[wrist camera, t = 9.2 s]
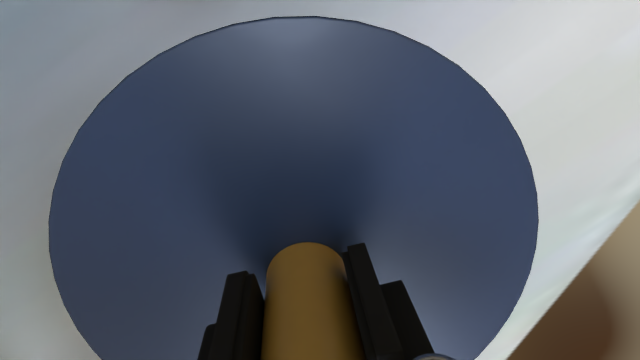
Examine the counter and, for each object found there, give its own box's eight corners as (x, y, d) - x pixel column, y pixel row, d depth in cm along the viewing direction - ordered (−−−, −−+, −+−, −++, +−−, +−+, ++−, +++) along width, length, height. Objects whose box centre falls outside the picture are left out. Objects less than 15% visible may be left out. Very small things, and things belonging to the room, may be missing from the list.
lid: (4, 326, 13) (-228, 578, 7) (198, -120, 9) (14, -416, 3) (359, 446, 18) (397, 667, 12) (609, 184, 13) (883, 323, 7)
